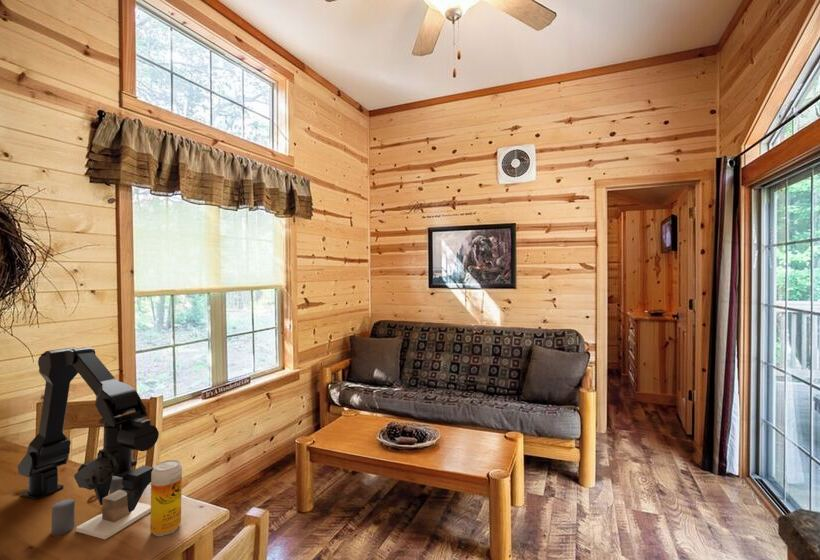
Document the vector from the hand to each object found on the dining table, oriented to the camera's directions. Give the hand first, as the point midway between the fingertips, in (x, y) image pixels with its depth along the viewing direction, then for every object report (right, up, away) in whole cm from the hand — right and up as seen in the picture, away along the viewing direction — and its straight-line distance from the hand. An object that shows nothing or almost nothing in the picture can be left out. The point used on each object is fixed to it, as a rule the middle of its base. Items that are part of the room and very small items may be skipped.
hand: (116, 507), depth 95 cm
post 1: (-10, -3, -4) cm, 11 cm away
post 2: (-6, -3, +9) cm, 11 cm away
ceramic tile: (0, -3, 0) cm, 3 cm away
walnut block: (0, -2, 0) cm, 2 cm away
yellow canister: (+14, -4, -3) cm, 14 cm away
